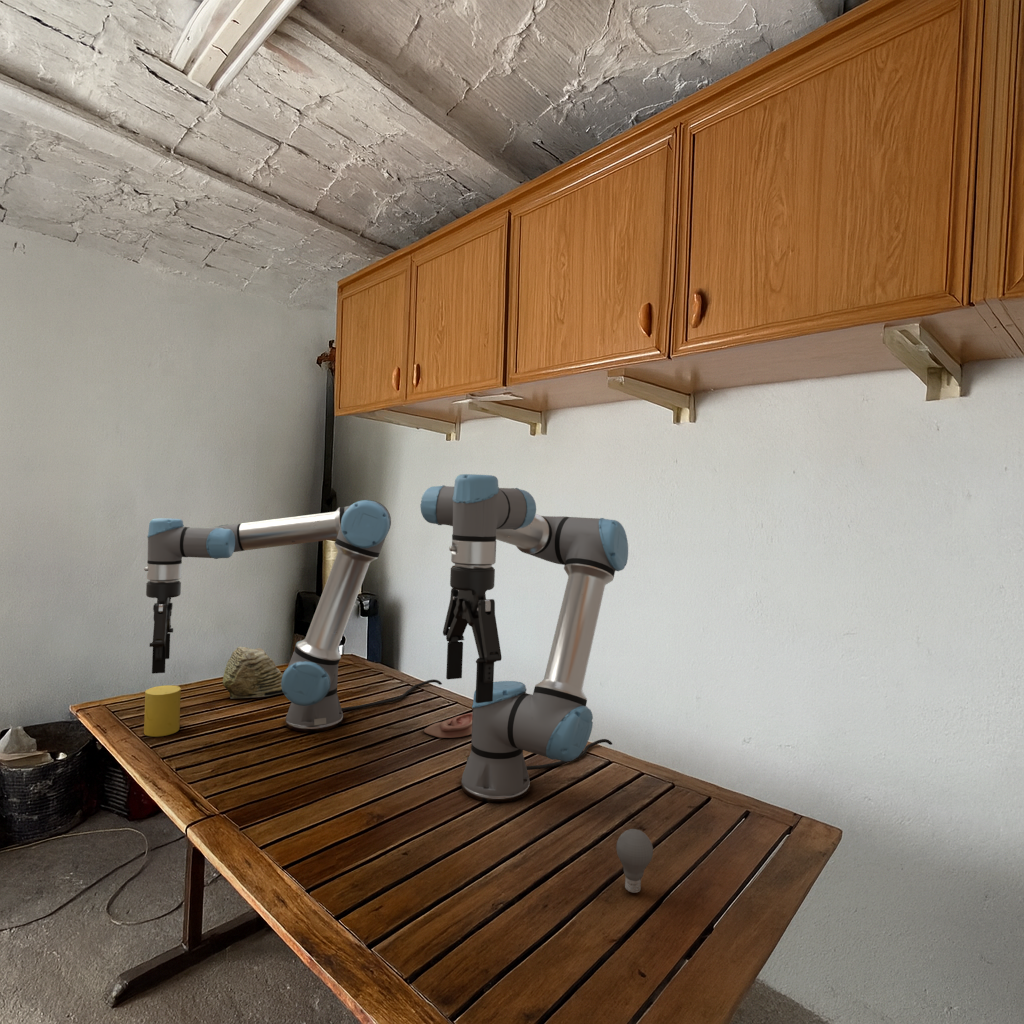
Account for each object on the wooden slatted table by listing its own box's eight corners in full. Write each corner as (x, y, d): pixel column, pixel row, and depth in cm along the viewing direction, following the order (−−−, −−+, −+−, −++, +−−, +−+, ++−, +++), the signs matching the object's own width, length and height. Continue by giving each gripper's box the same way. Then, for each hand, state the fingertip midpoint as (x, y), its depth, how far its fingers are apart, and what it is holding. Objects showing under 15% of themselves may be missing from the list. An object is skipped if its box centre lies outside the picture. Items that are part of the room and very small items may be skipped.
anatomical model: (420, 720, 170) (434, 707, 181) (419, 735, 170) (433, 721, 181) (467, 726, 167) (478, 712, 179) (467, 741, 167) (478, 726, 179)
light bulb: (610, 879, 108) (613, 822, 108) (644, 879, 109) (647, 822, 109) (619, 902, 102) (622, 840, 102) (655, 901, 103) (658, 840, 103)
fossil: (218, 695, 195) (220, 647, 195) (278, 685, 208) (279, 640, 207) (228, 703, 189) (230, 653, 188) (289, 692, 201) (290, 645, 201)
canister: (136, 734, 163) (137, 692, 163) (160, 723, 171) (162, 683, 171) (162, 738, 161) (164, 696, 161) (186, 727, 169) (188, 687, 169)
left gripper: (151, 574, 167) (149, 654, 167) (140, 588, 144) (137, 680, 145) (183, 574, 170) (181, 652, 170) (177, 587, 147) (174, 678, 148)
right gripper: (428, 557, 117) (424, 671, 118) (481, 575, 95) (476, 715, 95) (466, 557, 120) (461, 668, 121) (526, 574, 98) (520, 710, 98)
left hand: (161, 665), depth 157 cm, fingers open, 13 cm apart
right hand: (468, 689), depth 108 cm, fingers open, 13 cm apart
